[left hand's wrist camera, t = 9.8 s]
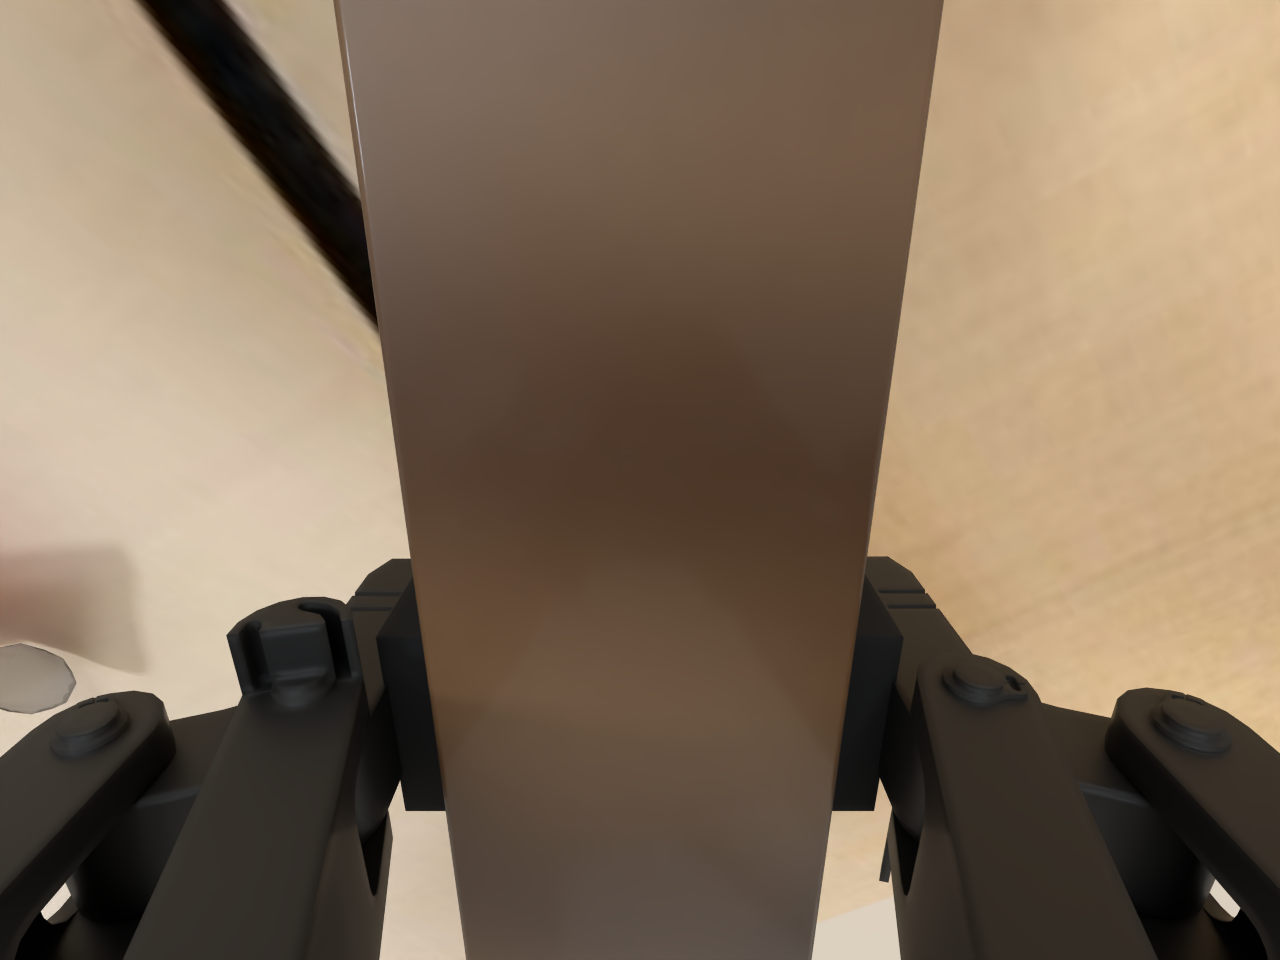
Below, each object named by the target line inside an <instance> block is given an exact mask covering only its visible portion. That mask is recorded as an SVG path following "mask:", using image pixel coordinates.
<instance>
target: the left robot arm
mask: <svg viewBox="0 0 1280 960" xmlns="http://www.w3.org/2000/svg"><path fill="white" fill-rule="evenodd" d="M226 636H227V639H228V643H229V647H230V651H231V654H232V658H233V662H234V665H235V669H236V673H237V676H238V680H239V684H240V688H241V691H242V697H241V700H240V702H239V704H238V706H235V707H231V708H228V709H224V710H220V711H215V712H210V713H206V714H201V715H196V716H191V717H186V718H181V719H177V720H172V721H169V719H168V716H167V713H166V710H165V706H164V703H163V701H161V700H160V699H159V698H158V697H156V696H155V695H154V694H152V693H146V692H139V691H127V692H119V693H110V694H106V695H101V696H97V697H96V698H90V699H87V700H84V701H82V702H79V703H77V704H76V705H74V706H72V707H70V708H68V709H66V710H63V711H61V712H59V713H57V714H55V715H53V716H52V717H51V718H49V719H48V720H46V721H45V722H43V723H42V724H40V725H39V726H38V727H36V728H35V729H33V730H32V731H31V732H29V733H28V734H27V735H26V736H25V737H24V738H22V739H21V740H20V741H19V742H18V743H17V744H15V745H14V746H13V747H12V748H11V749H10V750H8V751H7V752H6V753H5V754H4V755H3V756H1V757H0V960H379V957H380V948H381V939H382V930H383V921H384V912H385V903H386V894H387V885H388V877H389V868H390V859H391V850H392V841H393V836H392V829H391V822H390V817H389V812H388V808H389V806H390V803H391V801H392V798H393V796H394V794H395V791H396V789H397V786H398V784H399V782H400V781H401V787H402V793H403V798H404V804H405V810H406V811H446V809H445V802H444V795H443V787H442V780H441V773H440V766H439V759H438V751H437V744H436V737H435V730H434V723H433V715H432V708H431V701H430V694H429V687H428V679H427V672H426V665H425V658H424V650H423V643H422V636H421V629H420V622H419V614H418V607H417V600H416V593H415V586H414V578H413V571H412V564H411V559H391V560H390V561H388V562H386V563H385V564H383V565H382V566H380V567H379V568H377V569H376V570H374V571H373V572H371V573H370V574H368V576H367V577H366V578H365V580H364V581H363V582H362V584H361V585H360V586H359V588H358V589H357V590H356V592H355V596H352V597H351V599H350V600H349V601H348V603H347V604H344V603H343V602H342V601H340V600H336V599H331V598H327V597H302V598H297V599H292V600H287V601H282V602H278V603H276V604H273V605H270V606H268V607H265V608H262V609H260V610H257V611H255V612H254V613H252V614H251V615H249V616H247V617H246V618H244V619H243V620H241V621H239V622H238V623H237V624H236V625H235V626H234V627H233V628H232V630H231V631H230V632H229V633H228V634H227V635H226ZM879 779H881V782H882V784H883V786H884V789H885V791H886V793H887V796H888V798H889V801H890V803H891V805H892V812H891V817H890V822H889V828H888V833H887V838H886V844H885V849H884V855H883V860H882V865H881V872H880V879H879V881H883V882H889V877H890V872H891V875H892V884H893V893H894V902H895V910H896V919H897V928H898V937H899V946H900V955H901V960H1280V753H1279V752H1278V751H1276V750H1275V749H1274V748H1273V747H1272V746H1271V745H1269V744H1268V743H1267V742H1266V741H1265V740H1263V739H1262V738H1261V737H1260V736H1259V735H1258V734H1256V733H1255V732H1254V731H1253V730H1252V729H1251V728H1249V727H1248V726H1246V725H1245V724H1244V723H1242V722H1241V721H1239V720H1238V719H1236V718H1235V717H1233V716H1232V715H1230V714H1229V713H1228V712H1226V711H1224V710H1222V709H1220V708H1218V707H1215V706H1213V705H1211V704H1209V703H1207V702H1205V701H1204V700H1202V699H1200V698H1197V697H1194V696H1191V695H1188V694H1187V695H1185V694H1184V693H1180V692H1176V691H1171V690H1163V689H1154V688H1141V689H1134V690H1128V691H1126V692H1125V693H1124V694H1123V695H1121V696H1120V697H1119V698H1118V699H1117V702H1116V705H1115V708H1114V711H1113V714H1112V717H1111V718H1108V717H1103V716H1099V715H1094V714H1089V713H1084V712H1079V711H1074V710H1070V709H1065V708H1060V707H1056V706H1052V705H1048V704H1045V703H1041V701H1040V698H1039V696H1038V694H1037V693H1036V691H1035V690H1034V689H1033V687H1032V686H1031V685H1030V683H1029V682H1028V681H1027V680H1026V679H1025V678H1023V677H1022V676H1021V675H1019V674H1018V673H1016V672H1015V671H1014V670H1012V669H1011V668H1010V667H1007V666H1005V665H1003V664H1001V663H998V662H996V661H994V660H992V659H989V658H986V657H982V656H978V655H974V654H972V653H971V651H970V650H969V649H968V647H967V646H966V645H965V643H964V642H963V641H962V639H961V638H960V636H959V635H958V634H957V632H956V631H955V630H954V628H953V627H952V626H951V624H950V623H949V622H948V620H947V619H946V618H945V616H944V615H943V614H942V612H941V611H940V610H939V609H936V604H935V603H934V602H933V600H932V599H931V597H930V596H929V595H928V593H925V589H924V588H923V587H922V585H921V584H920V583H919V581H918V580H917V579H916V577H915V576H914V575H913V573H912V572H911V571H909V570H908V569H906V568H905V567H903V566H902V565H900V564H898V563H897V562H895V561H894V560H892V559H891V558H889V557H867V561H866V568H865V575H864V582H863V590H862V597H861V604H860V611H859V619H858V626H857V633H856V640H855V647H854V655H853V662H852V669H851V676H850V684H849V691H848V698H847V705H846V713H845V720H844V727H843V734H842V742H841V749H840V756H839V763H838V771H837V778H836V785H835V792H834V800H833V807H832V811H874V808H875V802H876V796H877V790H878V784H879ZM1215 879H1216V880H1217V881H1218V882H1219V883H1220V885H1221V886H1222V887H1223V888H1224V889H1225V890H1226V892H1227V893H1228V894H1229V895H1230V896H1231V897H1232V899H1233V900H1234V901H1235V902H1236V903H1237V904H1238V906H1239V907H1240V910H1239V912H1238V914H1237V916H1236V917H1235V918H1234V917H1232V916H1231V915H1230V914H1228V913H1227V912H1226V911H1225V910H1224V909H1223V908H1222V907H1221V906H1220V905H1219V903H1218V902H1217V901H1216V900H1215V899H1214V897H1213V896H1212V895H1211V894H1210V893H1209V892H1210V890H1211V888H1212V886H1213V883H1214V881H1215ZM64 883H66V885H67V887H68V889H69V892H70V894H71V896H70V897H69V899H68V900H67V901H66V902H65V903H64V905H63V906H62V907H61V908H60V909H59V910H58V911H57V912H56V913H55V914H54V915H52V916H51V917H50V918H49V919H48V920H46V919H44V918H43V916H42V914H41V910H42V909H43V908H44V907H45V906H46V904H47V903H48V902H49V901H50V900H51V899H52V897H53V896H54V895H55V894H56V893H57V892H58V890H59V889H60V888H61V887H62V886H63V885H64Z"/></svg>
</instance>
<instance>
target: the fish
mask: <svg viewBox="0 0 1280 960" xmlns="http://www.w3.org/2000/svg"><path fill="white" fill-rule="evenodd" d="M75 685H76V680H75V678H74V676H73V673H72V671H71V670H70V668H69V667H68V665H67V664H66V662H65V661H64V659H63V658H61V657H59V656H57V655H54V654H52V653H50V652H48V651H46V650H43V649H39V648H36V647H32V646H28V645H25V644H21V643H20V644H15V645H10V646H6V647H1V648H0V709H2V710H5V711H9V712H17V713H26V714H34V713H38V712H41V711H45V710H49V709H52V708H55V707H57V706H59V705H62V704H64V703H66V702H67V701H68V699H69V697H70V695H71V693H72V691H73V689H74V687H75Z"/></svg>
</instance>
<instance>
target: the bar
mask: <svg viewBox="0 0 1280 960" xmlns="http://www.w3.org/2000/svg"><path fill="white" fill-rule="evenodd" d="M333 1H334V8H335V16H336V23H337V30H338V37H339V45H340V52H341V59H342V66H343V73H344V81H345V88H346V95H347V102H348V109H349V117H350V124H351V131H352V138H353V146H354V153H355V160H356V167H357V174H358V182H359V189H360V196H361V203H362V210H363V218H364V225H365V232H366V239H367V247H368V254H369V261H370V268H371V275H372V283H373V290H374V297H375V304H376V311H377V319H378V326H379V333H380V340H381V347H382V355H383V362H384V369H385V376H386V384H387V391H388V398H389V405H390V412H391V420H392V427H393V434H394V441H395V448H396V456H397V463H398V470H399V477H400V485H401V492H402V499H403V506H404V513H405V521H406V528H407V535H408V542H409V549H410V557H411V564H412V571H413V578H414V586H415V593H416V600H417V607H418V614H419V622H420V629H421V636H422V643H423V650H424V658H425V665H426V672H427V679H428V687H429V694H430V701H431V708H432V715H433V723H434V730H435V737H436V744H437V751H438V759H439V766H440V773H441V780H442V787H443V795H444V802H445V809H446V816H447V824H448V831H449V838H450V845H451V852H452V860H453V867H454V874H455V881H456V888H457V896H458V903H459V910H460V917H461V925H462V932H463V939H464V946H465V953H466V960H811V959H812V952H813V944H814V937H815V930H816V923H817V915H818V908H819V901H820V894H821V886H822V879H823V872H824V865H825V858H826V850H827V843H828V836H829V829H830V821H831V814H832V807H833V800H834V792H835V785H836V778H837V771H838V763H839V756H840V749H841V742H842V734H843V727H844V720H845V713H846V705H847V698H848V691H849V684H850V676H851V669H852V662H853V655H854V647H855V640H856V633H857V626H858V619H859V611H860V604H861V597H862V590H863V582H864V575H865V568H866V561H867V553H868V546H869V539H870V532H871V524H872V517H873V510H874V503H875V495H876V488H877V481H878V474H879V466H880V459H881V452H882V445H883V437H884V430H885V423H886V416H887V408H888V401H889V394H890V387H891V379H892V372H893V365H894V358H895V351H896V343H897V336H898V329H899V322H900V314H901V307H902V300H903V293H904V285H905V278H906V271H907V264H908V256H909V249H910V242H911V235H912V227H913V220H914V213H915V206H916V198H917V191H918V184H919V177H920V169H921V162H922V155H923V148H924V140H925V133H926V126H927V119H928V111H929V104H930V97H931V90H932V83H933V75H934V68H935V61H936V54H937V46H938V39H939V32H940V25H941V17H942V10H943V3H944V0H333Z"/></svg>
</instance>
